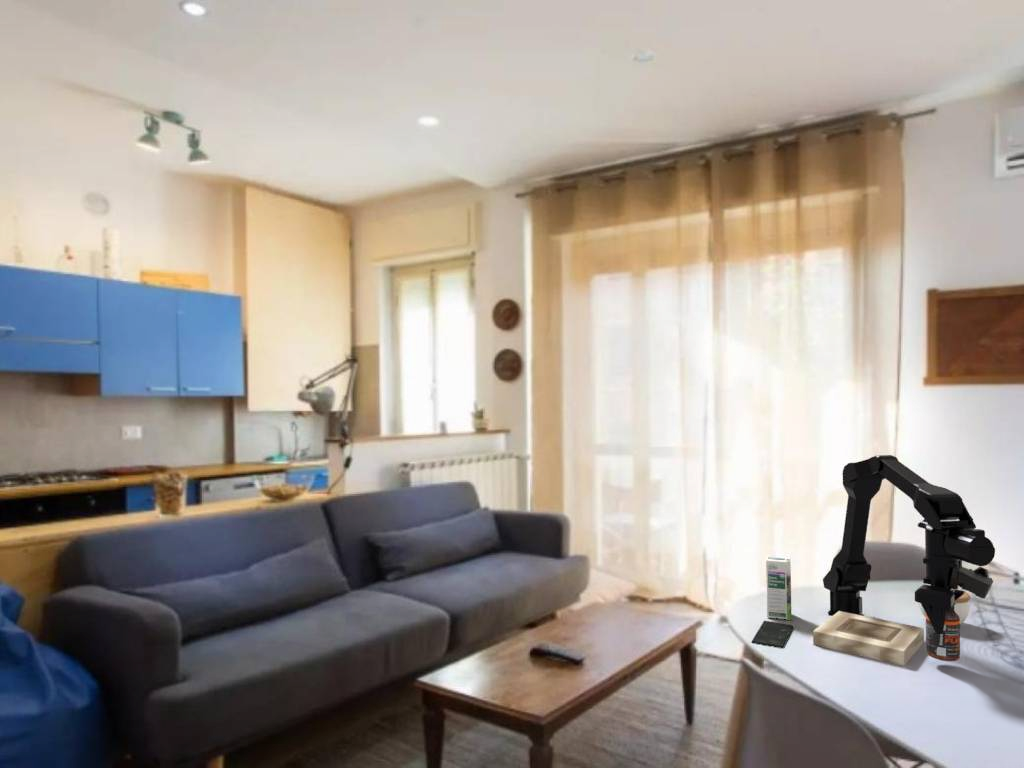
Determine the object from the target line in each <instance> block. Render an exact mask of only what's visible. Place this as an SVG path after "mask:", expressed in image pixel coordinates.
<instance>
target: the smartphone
mask: <svg viewBox="0 0 1024 768" xmlns="http://www.w3.org/2000/svg"><path fill="white" fill-rule="evenodd" d="M793 629H794V625H793V624H790V623H789V624H788V623H782V622H777V621H775V622H774V621H769V620H763V622H762V624H761V625H760V627H759V628H758V630H757V631H756V634H755V635H754V637H753V639H752V640H751V643H752V644H754V643H756V644H755V645H760V644H762V645H761V646H767V645H768V646H767V647H771V646H774V647H773V648H777V647H781V648H780V649H784V648H785V646H786V644H787V642H788V640H789V638H790V636H791V634H792V631H793ZM790 633H791V634H790ZM788 637H789V638H788ZM787 639H788V640H787ZM786 641H787V642H786ZM785 643H786V644H785ZM784 645H785V646H784ZM783 647H784V648H783Z"/></svg>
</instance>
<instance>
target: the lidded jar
mask: <svg viewBox="0 0 1024 768" xmlns="http://www.w3.org/2000/svg"><path fill="white" fill-rule="evenodd" d="M957 590H961V591H964V592H965V593H964V594H963V595H962V596H961V597H959V598H958V599H957V600H955V603H956V604H955V605H954V611H955V612H956V614H958V616H959V618H960V625H962V624H964V622H965V621H966V620H967V619H968V617H969V613H970V607H971V606H970V601H971V595H970V593H968V591H966V590H963V589H959V588H958V589H957ZM918 606H919V609H920V612H921V613H922V615H923V617H925V618H926V612H925V610H924V608H923V607H922V605H921V603H919V602H918Z"/></svg>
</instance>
